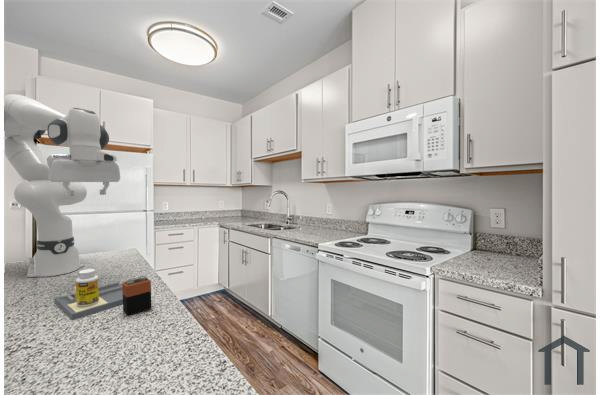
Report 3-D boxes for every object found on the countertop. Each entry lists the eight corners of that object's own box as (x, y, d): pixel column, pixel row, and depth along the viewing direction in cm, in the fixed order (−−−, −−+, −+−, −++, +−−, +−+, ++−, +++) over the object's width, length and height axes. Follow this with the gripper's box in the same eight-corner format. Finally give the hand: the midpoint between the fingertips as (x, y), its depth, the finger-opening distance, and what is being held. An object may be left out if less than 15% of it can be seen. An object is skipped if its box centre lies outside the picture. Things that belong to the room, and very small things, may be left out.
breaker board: (54, 302, 91) (54, 294, 91) (117, 286, 105) (117, 278, 105) (72, 319, 80) (72, 310, 80) (139, 298, 95) (139, 290, 94)
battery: (152, 308, 88) (151, 277, 87) (127, 316, 83) (126, 283, 82) (146, 304, 91) (146, 273, 90) (122, 311, 86) (121, 279, 85)
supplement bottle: (75, 309, 83) (74, 275, 82) (77, 302, 88) (76, 269, 87) (99, 304, 86) (97, 271, 85) (99, 298, 91) (98, 266, 90)
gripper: (49, 152, 89) (51, 196, 90) (121, 157, 105) (122, 194, 106) (44, 153, 93) (46, 196, 93) (114, 158, 109) (115, 193, 110)
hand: (87, 195), depth 100 cm, fingers open, 8 cm apart
